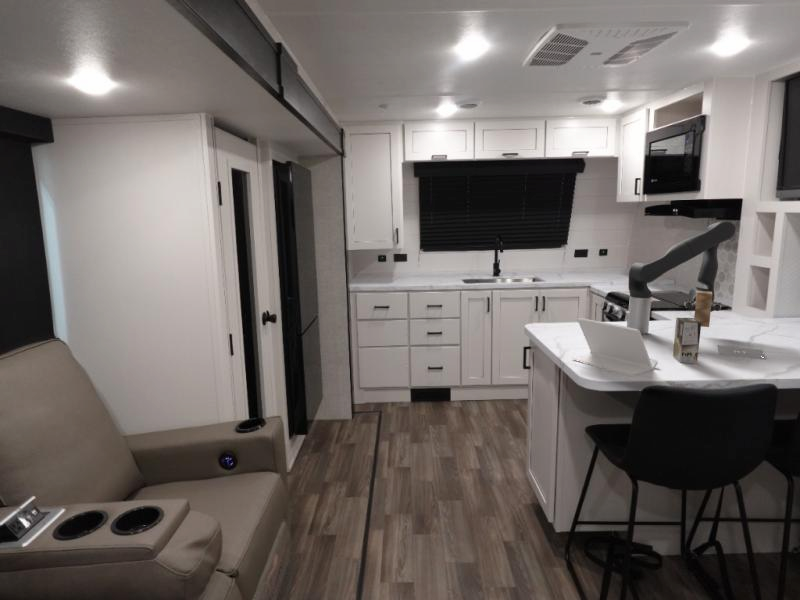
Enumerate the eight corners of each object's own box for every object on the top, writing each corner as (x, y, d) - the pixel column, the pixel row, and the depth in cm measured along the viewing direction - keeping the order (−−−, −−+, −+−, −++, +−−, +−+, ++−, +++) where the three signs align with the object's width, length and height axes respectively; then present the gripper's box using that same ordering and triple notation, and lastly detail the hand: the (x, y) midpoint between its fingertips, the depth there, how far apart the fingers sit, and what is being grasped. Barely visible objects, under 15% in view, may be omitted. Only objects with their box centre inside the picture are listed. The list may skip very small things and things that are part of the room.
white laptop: (631, 377, 181) (635, 330, 178) (571, 360, 201) (573, 318, 198) (658, 367, 192) (662, 323, 189) (598, 352, 212) (601, 312, 209)
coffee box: (697, 363, 196) (702, 322, 193) (679, 362, 197) (683, 321, 194) (689, 357, 205) (693, 317, 202) (672, 356, 206) (675, 316, 203)
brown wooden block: (693, 325, 215) (696, 292, 212) (693, 323, 219) (696, 290, 217) (709, 327, 212) (712, 293, 209) (708, 324, 217) (711, 291, 214)
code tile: (718, 354, 207) (718, 354, 207) (716, 345, 221) (716, 344, 221) (766, 360, 199) (767, 359, 199) (761, 350, 213) (761, 349, 213)
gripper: (684, 292, 229) (684, 298, 215) (722, 294, 222) (724, 301, 208) (682, 308, 231) (682, 316, 216) (720, 311, 224) (722, 319, 209)
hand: (703, 308), depth 212 cm, fingers closed on brown wooden block, 5 cm apart
